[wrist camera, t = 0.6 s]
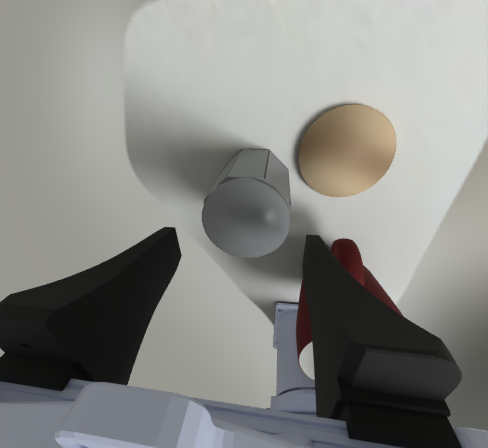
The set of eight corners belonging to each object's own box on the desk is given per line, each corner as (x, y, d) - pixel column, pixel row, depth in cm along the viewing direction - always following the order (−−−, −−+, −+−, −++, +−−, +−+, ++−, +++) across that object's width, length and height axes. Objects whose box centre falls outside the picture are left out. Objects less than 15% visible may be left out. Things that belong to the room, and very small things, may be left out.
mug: (281, 220, 22) (280, 306, 14) (373, 205, 20) (437, 296, 12) (298, 294, 27) (305, 390, 19) (373, 289, 25) (418, 393, 17)
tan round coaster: (378, 195, 20) (380, 198, 19) (294, 193, 21) (294, 195, 20) (407, 103, 16) (410, 104, 15) (303, 105, 17) (303, 105, 16)
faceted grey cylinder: (285, 210, 22) (286, 260, 16) (226, 208, 22) (207, 254, 16) (290, 149, 19) (293, 183, 13) (222, 149, 19) (196, 180, 13)
